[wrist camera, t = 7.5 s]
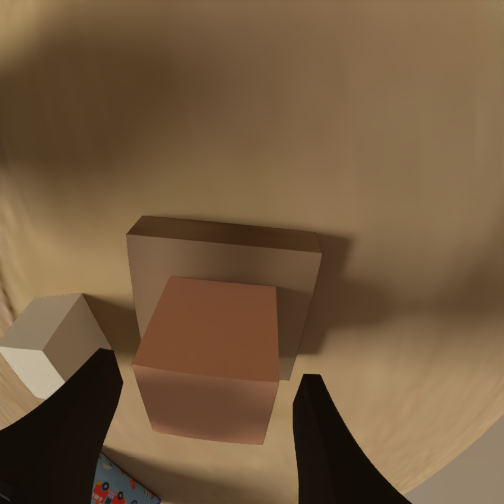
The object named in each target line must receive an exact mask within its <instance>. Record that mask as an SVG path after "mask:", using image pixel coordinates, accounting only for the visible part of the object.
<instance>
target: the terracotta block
mask: <svg viewBox="0 0 504 504" xmlns="http://www.w3.org/2000/svg"><path fill="white" fill-rule="evenodd" d="M132 367H133V370H134V374H135V377H136V381H137V384H138V387H139V390H140V393H141V397H142V400H143V403H144V406H145V409H146V412H147V415H148V417H149V420H150V423H151V426H152V429H153V431H154V432H160V433H165V434H170V435H176V436H182V437H189V438H195V439H203V440H211V441H220V442H229V443H241V444H256V445H263V443H264V439H265V435H266V432H267V428H268V424H269V421H270V417H271V413H272V409H273V406H274V402H275V398H276V394H277V390H278V386H279V353H278V326H277V302H276V287H275V286H263V285H252V284H241V283H230V282H219V281H209V280H199V279H190V278H180V277H171V276H170V277H169V279H168V281H167V284H166V286H165V288H164V290H163V292H162V295H161V297H160V299H159V301H158V304H157V306H156V308H155V310H154V313H153V315H152V317H151V320H150V322H149V324H148V327H147V329H146V331H145V334H144V336H143V338H142V341H141V343H140V345H139V348H138V350H137V353H136V355H135V358H134V360H133V363H132Z"/></svg>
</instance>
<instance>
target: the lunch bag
mask: <svg viewBox="0 0 504 504" xmlns="http://www.w3.org/2000/svg"><path fill="white" fill-rule="evenodd" d="M161 501H162V500H161V499H160V498H158V497H156V496H155V495H153V494H152V493H151V492H150V491H148V490H147V489H145V488H144V487H143V486H141V485H140V484H138V483H137V482H136V481H135V480H133V479H132V478H131V477H130V476H128V475H127V474H126V473H124V472H123V471H122V470H121V469H119V468H118V467H117V466H116V465H115V464H113V463H112V462H111V461H110V460H109V459H108V458H107V457H106V456H105V455H104V454H102V453H101V452H100V455H99V459H98V463H97V468H96V473H95V478H94V484H93V491H92V499H91V504H160V503H161Z"/></svg>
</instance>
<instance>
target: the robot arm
mask: <svg viewBox="0 0 504 504" xmlns="http://www.w3.org/2000/svg"><path fill="white" fill-rule="evenodd" d="M122 386H123V380H122V377H121V374H120V370H119V367H118V364H117V361H116V357H115V354H114V351H113V350H108V349H104V348H99V349H98V350H97V351H96V352H95V353H94V354H93V355H92V356H91V357H90V358H89V359H88V360H87V361H86V362H85V363H84V364H83V365H82V366H81V367H80V368H79V369H78V370H77V371H76V372H75V373H74V374H73V375H72V376H71V377H70V378H69V379H68V380H67V381H66V382H65V383H64V384H63V385H62V386H61V387H60V388H59V389H58V390H56V391H55V392H54V393H53V394H52V395H51V396H50V397H49V398H48V399H46V400H45V401H44V402H43V403H42V404H40V405H39V406H38V407H36V408H35V409H34V410H32V411H31V412H30V413H28V414H27V415H25V416H24V417H22V418H21V419H19V420H18V421H16V422H15V423H13V424H11V425H10V426H8V427H6V428H4V429H2V430H0V504H91V499H92V491H93V484H94V478H95V473H96V468H97V463H98V459H99V455H100V451H101V448H102V445H103V443H104V440H105V437H106V434H107V432H108V429H109V427H110V424H111V421H112V419H113V416H114V413H115V411H116V408H117V405H118V402H119V398H120V394H121V390H122ZM293 434H294V442H295V451H296V460H297V468H298V480H299V503H298V504H412V503H411V502H410V501H408V500H407V499H406V498H405V497H404V496H403V495H402V494H400V493H399V492H398V491H397V490H396V489H395V488H394V487H393V486H392V485H391V484H390V483H389V482H388V481H387V480H386V479H385V478H384V477H383V476H382V475H381V474H380V472H379V471H378V470H377V469H376V468H375V466H374V465H373V464H372V463H371V462H370V460H369V459H368V458H367V456H366V455H365V454H364V452H363V451H362V450H361V448H360V447H359V445H358V444H357V442H356V441H355V439H354V438H353V436H352V435H351V433H350V431H349V430H348V428H347V426H346V425H345V423H344V421H343V419H342V418H341V416H340V414H339V412H338V410H337V408H336V407H335V405H334V403H333V401H332V399H331V397H330V394H329V392H328V390H327V388H326V386H325V384H324V381H323V379H322V377H321V375H320V374H303V377H302V380H301V383H300V385H299V388H298V391H297V394H296V396H295V399H294V402H293Z"/></svg>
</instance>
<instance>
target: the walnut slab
mask: <svg viewBox="0 0 504 504" xmlns="http://www.w3.org/2000/svg"><path fill="white" fill-rule="evenodd" d="M126 238H127V248H128V258H129V266H130V274H131V282H132V289H133V296H134V302H135V309H136V315H137V321H138V326H139V332H140V337H141V341H142V338H143V336H144V334H145V331H146V329H147V327H148V324H149V322H150V320H151V317H152V315H153V313H154V310H155V308H156V306H157V304H158V301H159V299H160V297H161V295H162V292H163V290H164V288H165V286H166V284H167V281H168V279H169V277H170V276H171V277H180V278H190V279H199V280H209V281H219V282H230V283H241V284H252V285H263V286H275V287H276V302H277V326H278V353H279V380H289V379H290V376H291V373H292V369H293V366H294V362H295V359H296V355H297V352H298V348H299V345H300V341H301V338H302V334H303V330H304V326H305V323H306V319H307V315H308V311H309V307H310V303H311V299H312V295H313V291H314V287H315V283H316V279H317V275H318V271H319V266H320V262H321V258H322V250H321V248H320V245H319V242H318V239H317V236H316V233H315V232H308V231H299V230H289V229H280V228H270V227H261V226H251V225H240V224H230V223H219V222H209V221H197V220H186V219H174V218H162V217H150V216H142V217H141V218H140V219H139V220H138V221H137V222H136V223H135V225H134V226H133V227H132V228H131V229H130V230H129V232H128V233H127V234H126Z"/></svg>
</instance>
